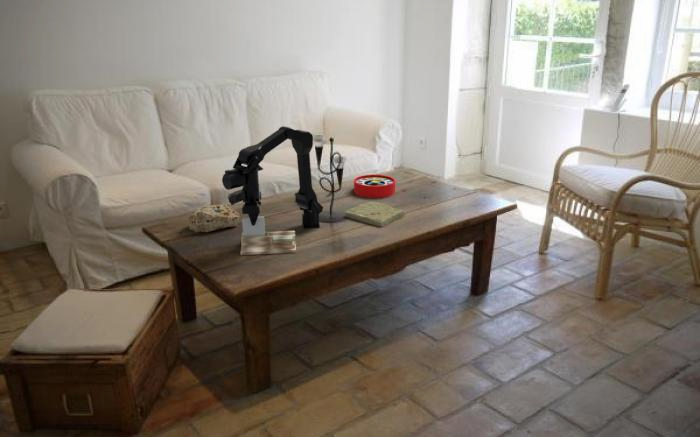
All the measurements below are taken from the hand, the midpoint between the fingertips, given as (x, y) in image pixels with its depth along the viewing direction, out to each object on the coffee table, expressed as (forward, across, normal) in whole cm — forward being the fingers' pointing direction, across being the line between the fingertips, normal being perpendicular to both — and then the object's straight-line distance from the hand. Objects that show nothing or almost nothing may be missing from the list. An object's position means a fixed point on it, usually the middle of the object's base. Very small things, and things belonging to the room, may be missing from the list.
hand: (253, 223), depth 214 cm
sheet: (+8, 0, 0) cm, 8 cm away
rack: (+8, +2, +5) cm, 10 cm away
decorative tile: (+9, -26, +50) cm, 57 cm away
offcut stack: (+8, +5, +10) cm, 14 cm away
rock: (+9, -22, -17) cm, 29 cm away
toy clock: (+9, -60, +55) cm, 82 cm away
